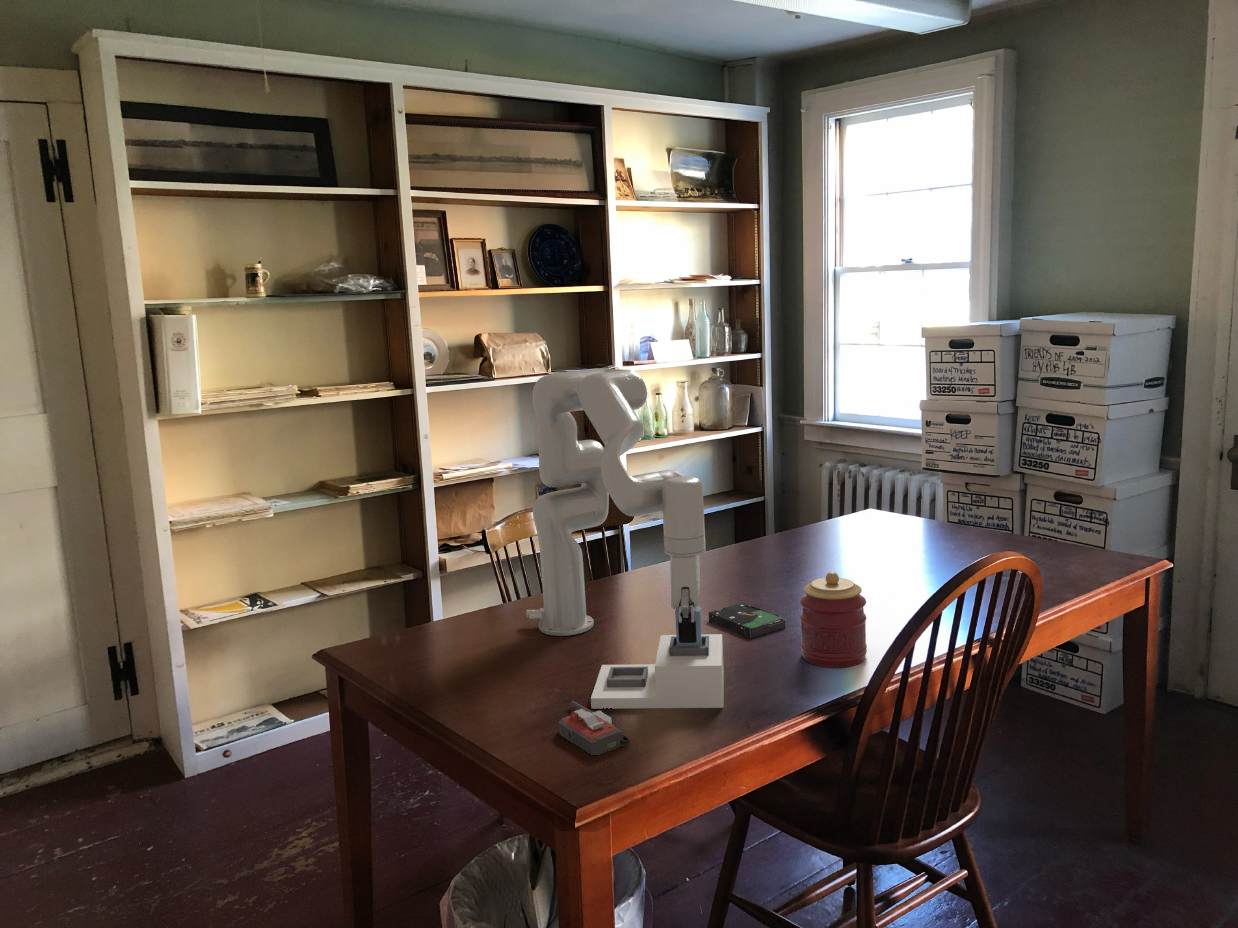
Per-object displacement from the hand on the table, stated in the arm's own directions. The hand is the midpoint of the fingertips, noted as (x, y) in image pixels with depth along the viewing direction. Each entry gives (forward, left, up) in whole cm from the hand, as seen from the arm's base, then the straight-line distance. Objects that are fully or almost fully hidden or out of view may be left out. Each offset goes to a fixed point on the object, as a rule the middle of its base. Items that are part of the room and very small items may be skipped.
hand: (688, 633), depth 180 cm
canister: (+28, +16, -11) cm, 34 cm away
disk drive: (+11, +36, -12) cm, 40 cm away
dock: (-6, 0, -11) cm, 13 cm away
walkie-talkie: (-18, -17, -12) cm, 27 cm away
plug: (0, 0, -3) cm, 3 cm away
